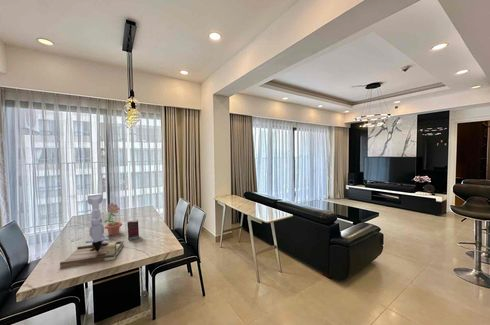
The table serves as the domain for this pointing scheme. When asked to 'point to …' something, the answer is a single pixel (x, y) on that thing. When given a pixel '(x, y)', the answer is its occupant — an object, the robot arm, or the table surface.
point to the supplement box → (133, 229)
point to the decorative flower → (114, 226)
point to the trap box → (91, 255)
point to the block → (111, 247)
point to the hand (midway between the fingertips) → (97, 250)
